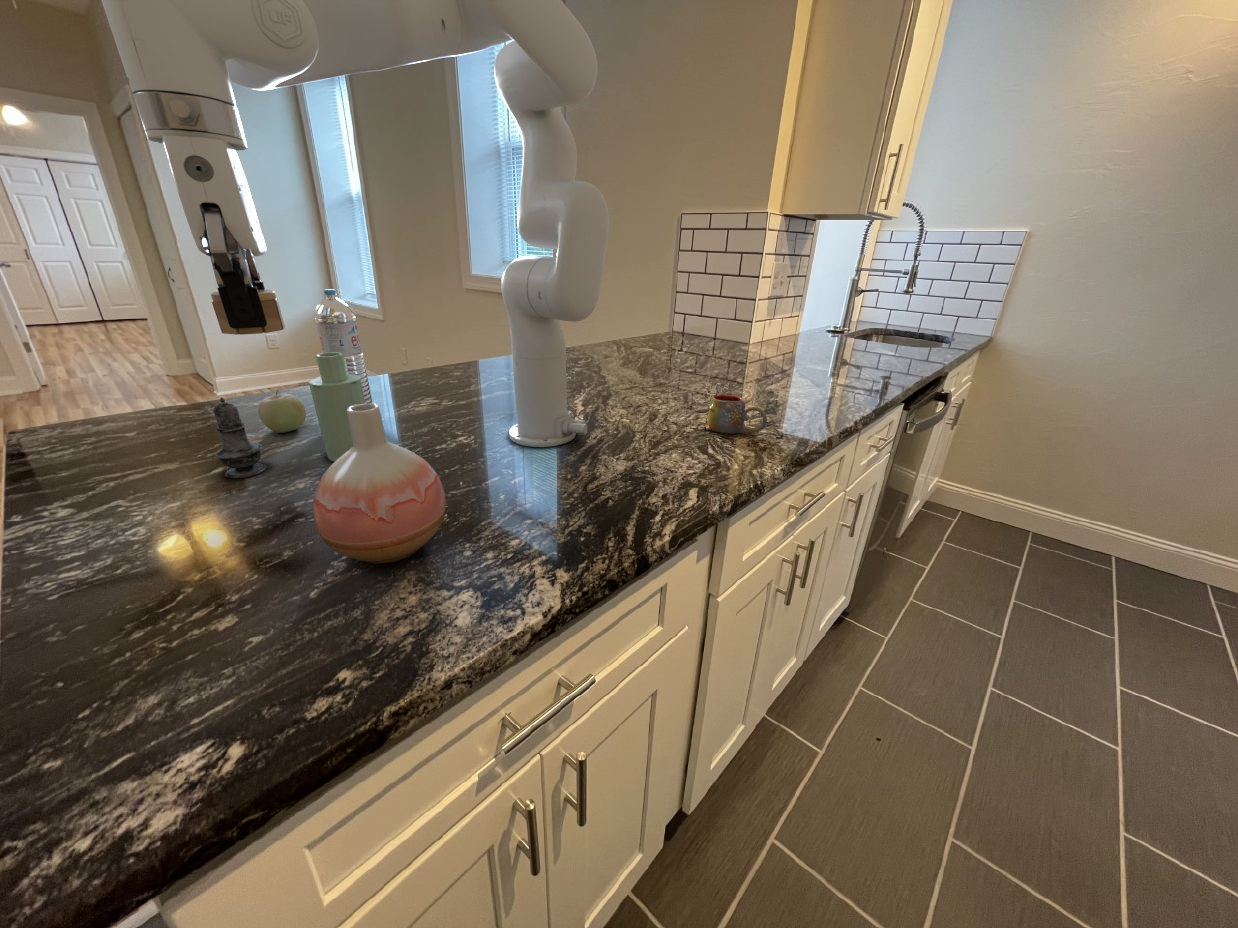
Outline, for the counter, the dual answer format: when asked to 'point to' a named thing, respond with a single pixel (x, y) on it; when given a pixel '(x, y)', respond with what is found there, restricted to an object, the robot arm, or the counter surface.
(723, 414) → the mug
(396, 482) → the vase
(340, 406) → the ceramic bottle
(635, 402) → the counter surface
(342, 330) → the water bottle
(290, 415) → the fruit
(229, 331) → the cap
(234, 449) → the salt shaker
